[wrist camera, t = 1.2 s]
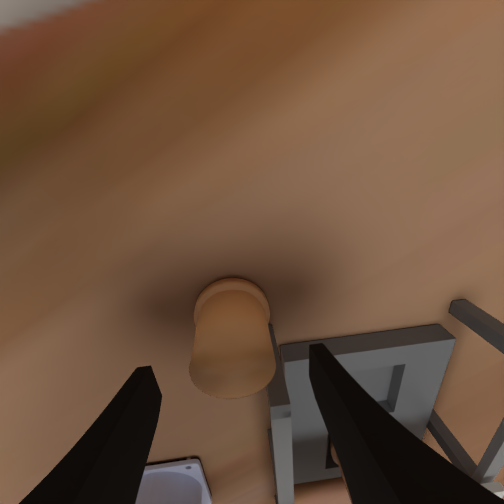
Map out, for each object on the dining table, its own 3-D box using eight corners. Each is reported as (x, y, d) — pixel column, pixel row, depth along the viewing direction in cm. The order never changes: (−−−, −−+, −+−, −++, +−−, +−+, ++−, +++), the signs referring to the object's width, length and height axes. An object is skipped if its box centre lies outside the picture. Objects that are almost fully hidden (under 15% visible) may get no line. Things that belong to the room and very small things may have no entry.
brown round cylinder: (202, 336, 17) (192, 408, 12) (189, 278, 15) (172, 338, 10) (269, 327, 17) (284, 395, 12) (264, 269, 15) (280, 324, 10)
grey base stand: (275, 499, 27) (286, 583, 21) (257, 326, 17) (269, 407, 11) (406, 478, 27) (447, 555, 22) (465, 299, 17) (566, 364, 12)
